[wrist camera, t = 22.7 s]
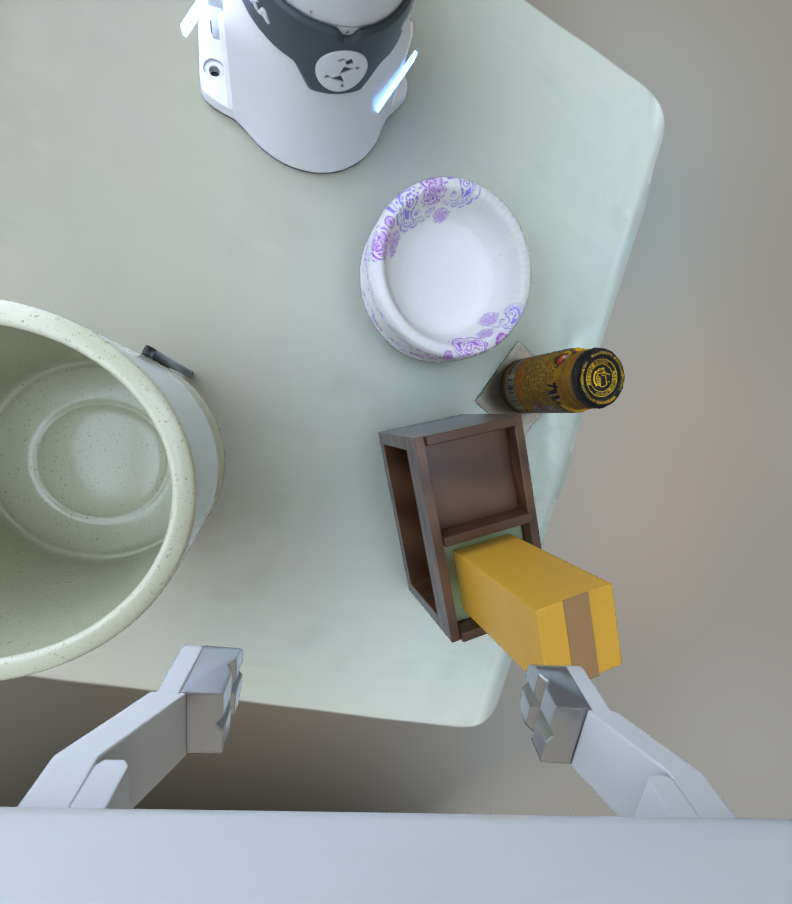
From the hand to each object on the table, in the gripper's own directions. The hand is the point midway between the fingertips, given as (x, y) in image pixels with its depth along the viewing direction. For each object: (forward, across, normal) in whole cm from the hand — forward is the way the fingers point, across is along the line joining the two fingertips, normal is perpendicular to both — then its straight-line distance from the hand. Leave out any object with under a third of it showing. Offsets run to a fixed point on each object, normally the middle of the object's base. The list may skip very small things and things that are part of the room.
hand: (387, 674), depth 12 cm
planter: (+29, +20, +4) cm, 35 cm away
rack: (+33, -8, +8) cm, 35 cm away
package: (+23, -11, +10) cm, 27 cm away
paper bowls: (+38, -4, -13) cm, 40 cm away
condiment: (+38, -16, -4) cm, 42 cm away
